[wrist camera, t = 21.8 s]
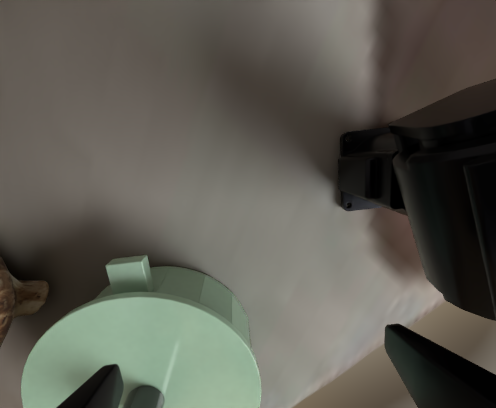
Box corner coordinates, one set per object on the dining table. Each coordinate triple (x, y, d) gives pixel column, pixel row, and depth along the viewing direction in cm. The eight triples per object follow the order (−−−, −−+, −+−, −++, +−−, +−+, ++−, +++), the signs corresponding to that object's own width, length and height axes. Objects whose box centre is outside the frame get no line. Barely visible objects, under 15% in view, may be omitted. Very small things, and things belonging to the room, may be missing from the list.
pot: (237, 227, 20) (238, 253, 15) (259, 410, 24) (266, 478, 19) (56, 249, 19) (-8, 284, 14) (114, 432, 24) (81, 509, 19)
